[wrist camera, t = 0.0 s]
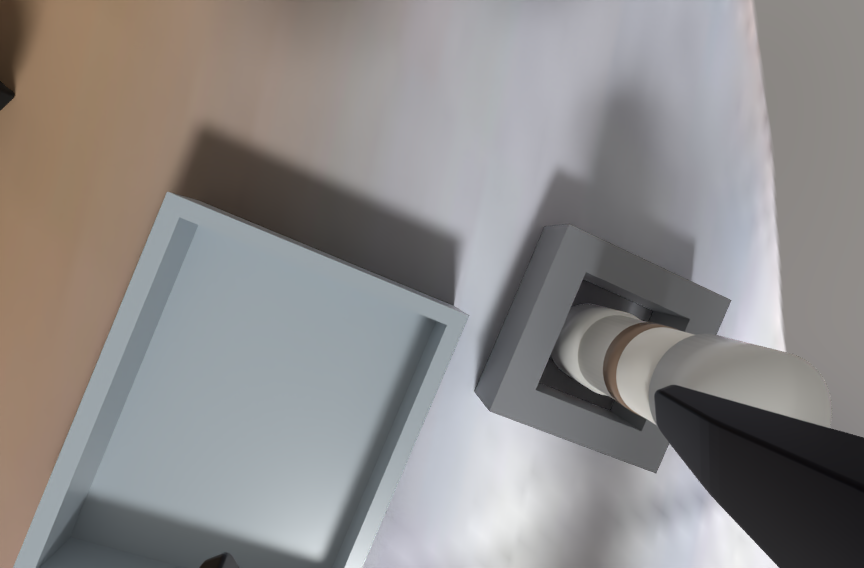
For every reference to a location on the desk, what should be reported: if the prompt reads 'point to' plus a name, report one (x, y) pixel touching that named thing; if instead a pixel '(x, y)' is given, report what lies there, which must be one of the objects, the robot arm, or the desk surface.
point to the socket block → (541, 325)
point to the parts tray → (243, 406)
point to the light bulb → (683, 366)
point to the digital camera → (5, 95)
